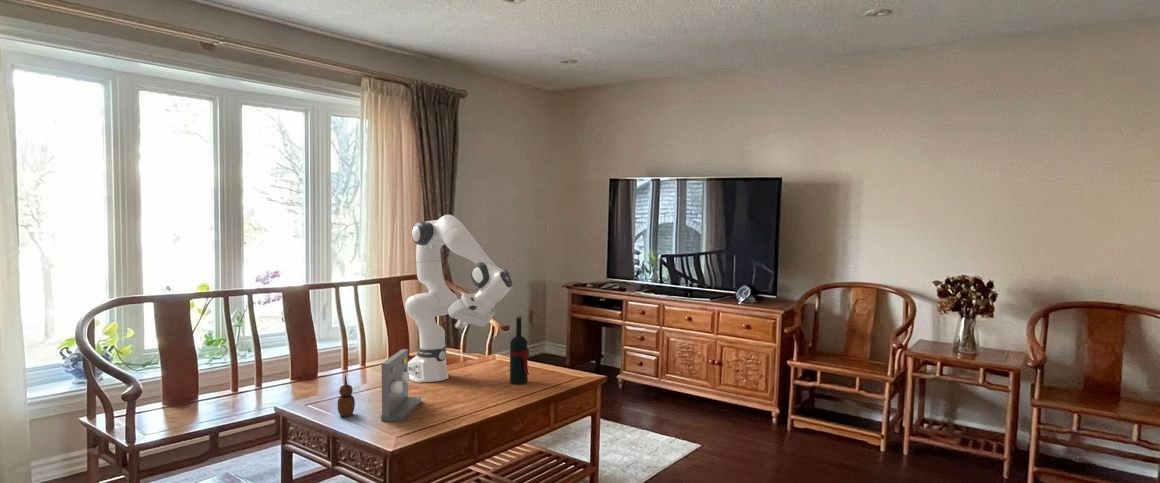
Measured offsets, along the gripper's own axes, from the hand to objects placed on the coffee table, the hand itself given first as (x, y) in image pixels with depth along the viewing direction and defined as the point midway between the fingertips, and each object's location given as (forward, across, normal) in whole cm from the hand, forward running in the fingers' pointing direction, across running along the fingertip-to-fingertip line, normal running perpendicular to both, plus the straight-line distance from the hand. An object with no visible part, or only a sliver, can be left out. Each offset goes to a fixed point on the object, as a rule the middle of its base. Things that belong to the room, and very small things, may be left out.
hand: (457, 327), depth 267 cm
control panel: (+29, +13, +21) cm, 38 cm away
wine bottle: (+9, -41, +14) cm, 44 cm away
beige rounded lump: (+25, +12, +10) cm, 30 cm away
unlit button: (+22, +22, +20) cm, 37 cm away
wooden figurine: (+42, +28, +16) cm, 53 cm away
